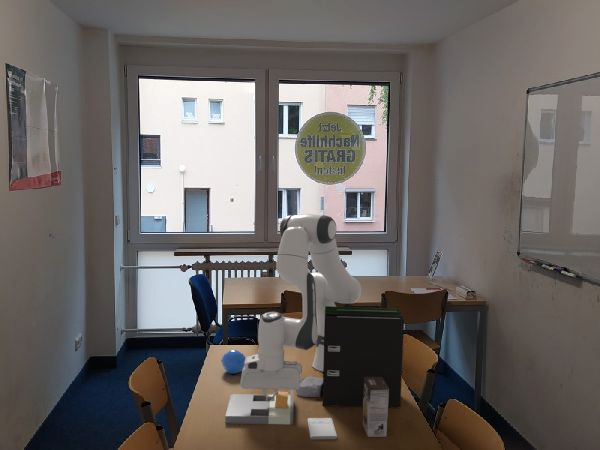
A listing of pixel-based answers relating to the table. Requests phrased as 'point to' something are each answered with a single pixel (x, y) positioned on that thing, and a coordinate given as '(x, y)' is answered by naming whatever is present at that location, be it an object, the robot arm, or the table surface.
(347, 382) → the binder
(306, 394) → the stone block
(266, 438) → the table surface
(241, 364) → the blue ball
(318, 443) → the table surface
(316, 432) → the external hard drive
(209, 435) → the table surface
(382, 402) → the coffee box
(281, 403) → the block
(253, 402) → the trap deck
